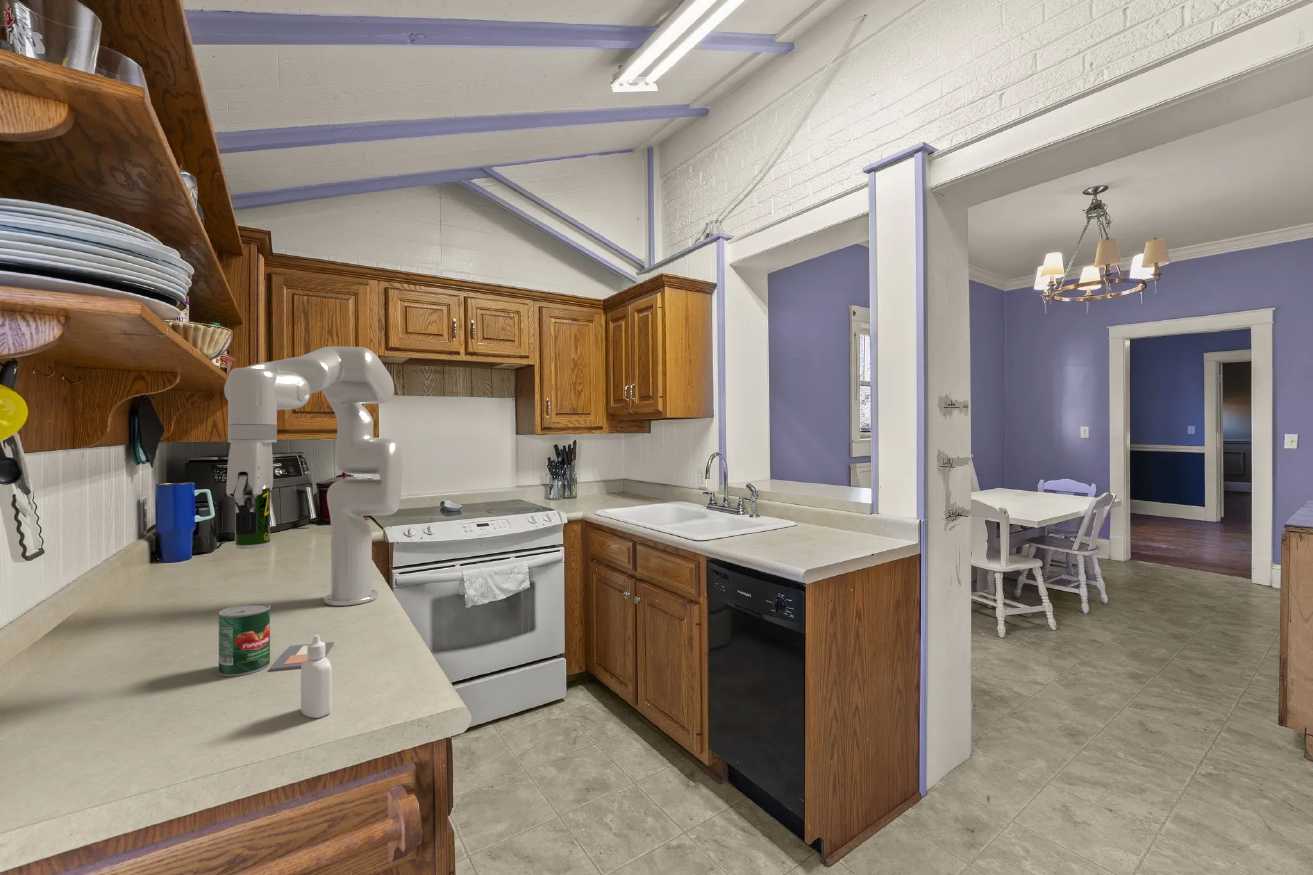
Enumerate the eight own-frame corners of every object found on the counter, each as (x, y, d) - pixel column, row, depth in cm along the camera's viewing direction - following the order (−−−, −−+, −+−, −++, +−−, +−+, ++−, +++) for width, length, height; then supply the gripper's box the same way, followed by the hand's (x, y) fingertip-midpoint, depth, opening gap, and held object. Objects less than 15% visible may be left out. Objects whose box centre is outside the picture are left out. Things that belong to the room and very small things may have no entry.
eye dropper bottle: (332, 701, 95) (333, 628, 95) (331, 716, 90) (331, 639, 90) (301, 707, 93) (301, 632, 93) (298, 722, 88) (298, 643, 88)
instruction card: (289, 648, 119) (289, 645, 119) (334, 644, 121) (334, 641, 121) (270, 671, 107) (270, 667, 107) (319, 666, 110) (319, 663, 110)
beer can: (234, 550, 105) (234, 484, 105) (235, 545, 110) (235, 482, 110) (270, 547, 108) (270, 483, 108) (269, 542, 113) (270, 481, 113)
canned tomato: (234, 660, 112) (234, 603, 112) (278, 659, 113) (278, 602, 113) (208, 677, 104) (208, 616, 104) (255, 675, 105) (255, 615, 105)
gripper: (245, 434, 116) (245, 525, 116) (209, 434, 100) (209, 540, 100) (289, 434, 118) (288, 524, 118) (260, 435, 102) (260, 538, 102)
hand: (252, 530), depth 109 cm, fingers closed on beer can, 5 cm apart
